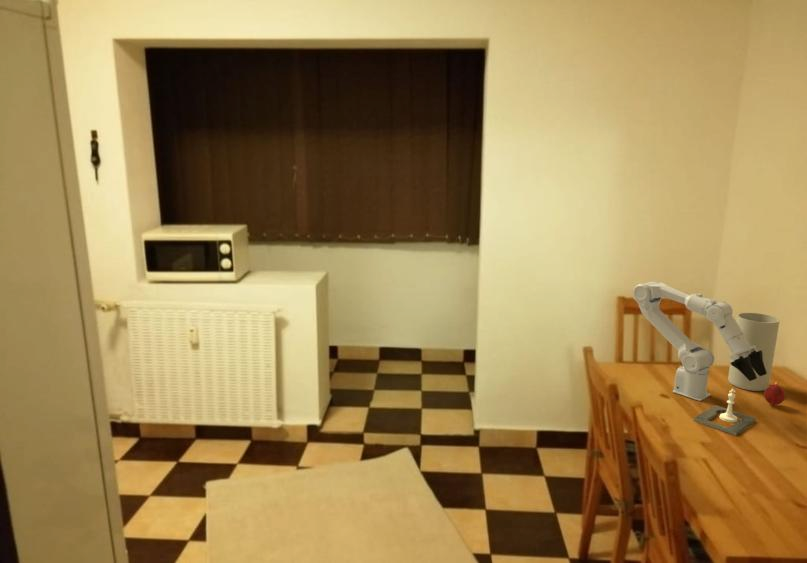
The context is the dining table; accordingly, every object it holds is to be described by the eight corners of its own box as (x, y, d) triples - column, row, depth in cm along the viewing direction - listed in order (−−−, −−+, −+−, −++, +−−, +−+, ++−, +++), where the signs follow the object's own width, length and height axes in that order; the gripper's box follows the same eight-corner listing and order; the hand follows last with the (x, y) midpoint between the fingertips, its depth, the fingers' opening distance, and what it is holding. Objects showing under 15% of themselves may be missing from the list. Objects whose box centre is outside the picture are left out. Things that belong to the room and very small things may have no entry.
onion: (786, 410, 180) (790, 387, 178) (766, 408, 181) (770, 385, 179) (778, 402, 185) (782, 380, 184) (759, 400, 187) (763, 378, 185)
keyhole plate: (714, 407, 181) (715, 404, 181) (755, 421, 172) (756, 418, 172) (694, 420, 173) (694, 417, 172) (735, 435, 163) (736, 432, 163)
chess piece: (715, 415, 176) (720, 386, 174) (730, 414, 177) (735, 385, 174) (725, 422, 171) (730, 392, 169) (741, 422, 172) (745, 392, 170)
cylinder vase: (763, 380, 203) (773, 314, 198) (772, 394, 192) (784, 324, 186) (724, 375, 207) (733, 311, 202) (731, 389, 196) (741, 320, 190)
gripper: (736, 335, 170) (761, 377, 166) (755, 329, 179) (780, 368, 174) (715, 345, 175) (739, 385, 171) (735, 338, 184) (758, 376, 180)
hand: (758, 377), depth 173 cm, fingers open, 7 cm apart
